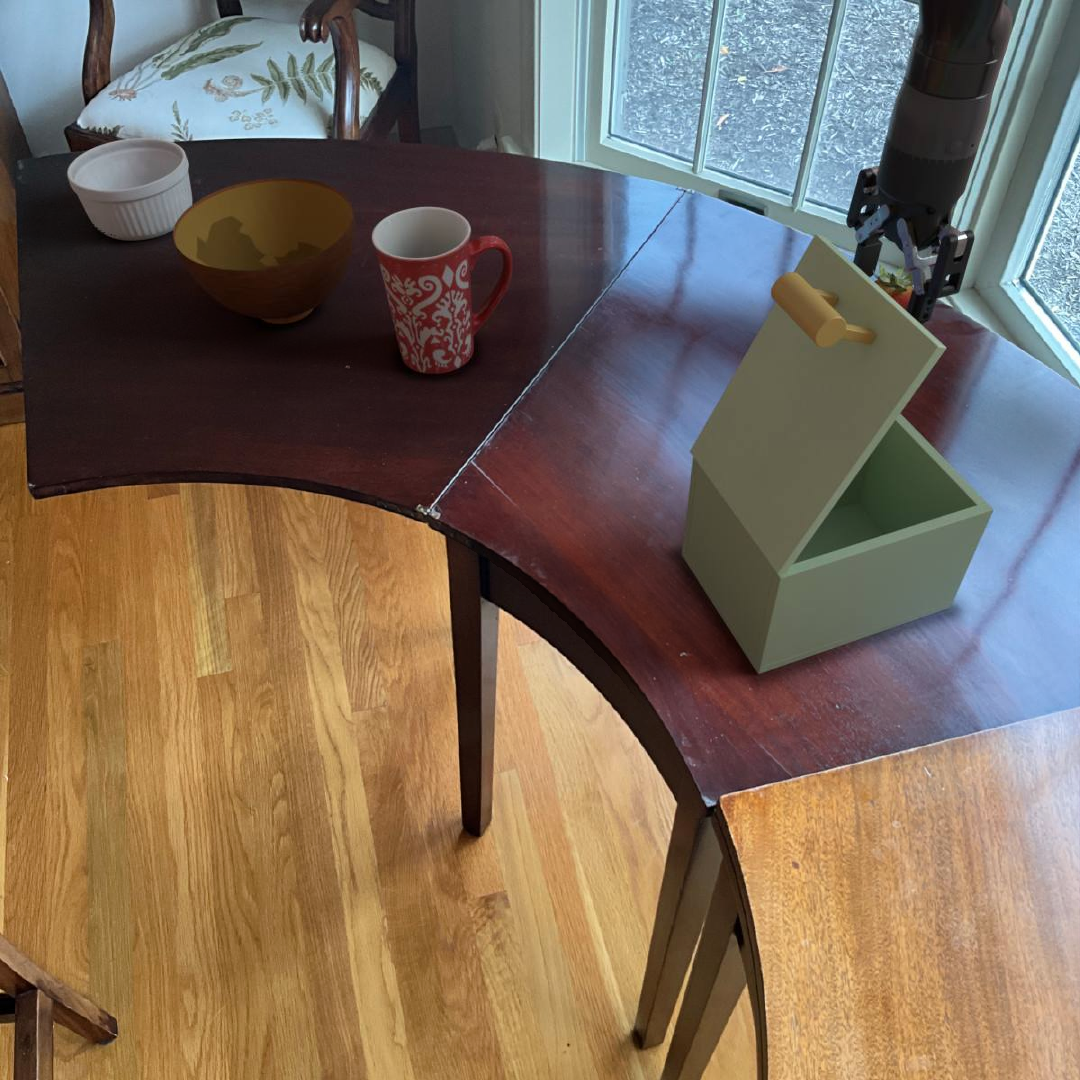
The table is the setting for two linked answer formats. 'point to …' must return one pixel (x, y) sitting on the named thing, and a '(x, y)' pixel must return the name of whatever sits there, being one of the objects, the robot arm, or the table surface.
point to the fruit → (895, 285)
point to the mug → (435, 285)
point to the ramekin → (133, 187)
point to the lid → (811, 399)
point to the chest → (842, 555)
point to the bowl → (268, 246)
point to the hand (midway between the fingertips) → (887, 299)
